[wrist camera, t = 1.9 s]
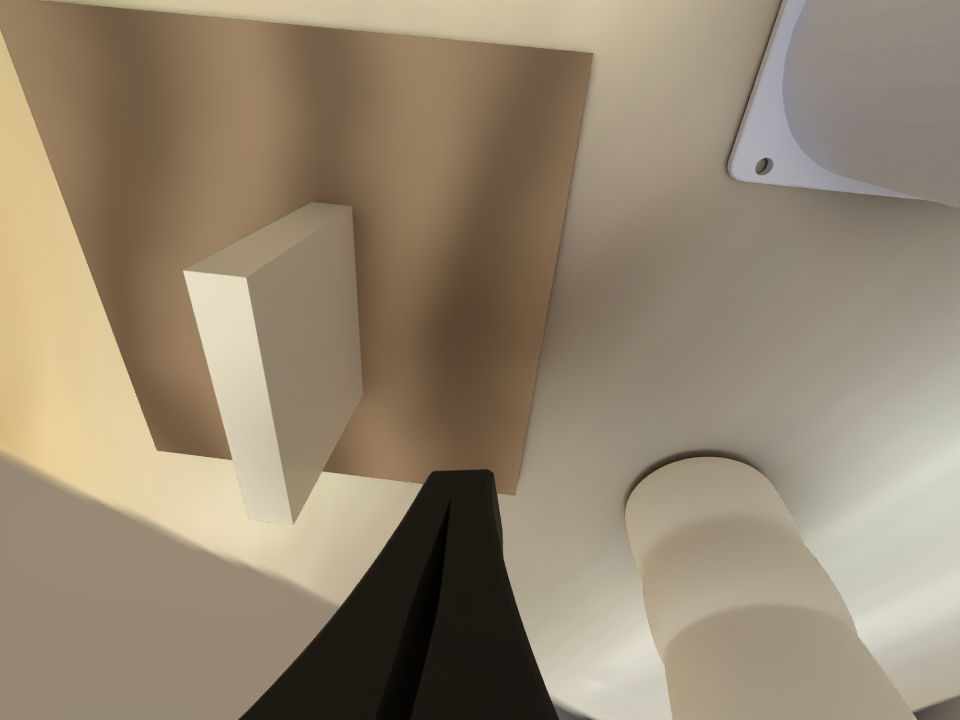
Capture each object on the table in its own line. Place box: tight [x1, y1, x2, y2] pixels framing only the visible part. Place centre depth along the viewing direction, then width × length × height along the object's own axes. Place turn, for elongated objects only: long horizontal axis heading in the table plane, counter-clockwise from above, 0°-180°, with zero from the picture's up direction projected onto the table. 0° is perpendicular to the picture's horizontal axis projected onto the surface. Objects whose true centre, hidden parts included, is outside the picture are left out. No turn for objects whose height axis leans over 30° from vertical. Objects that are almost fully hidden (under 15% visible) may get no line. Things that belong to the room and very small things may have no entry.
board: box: [0, 0, 593, 495], centre depth 18 cm, size 18×18×1 cm
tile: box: [183, 202, 363, 525], centre depth 15 cm, size 2×8×7 cm, turn 175°
